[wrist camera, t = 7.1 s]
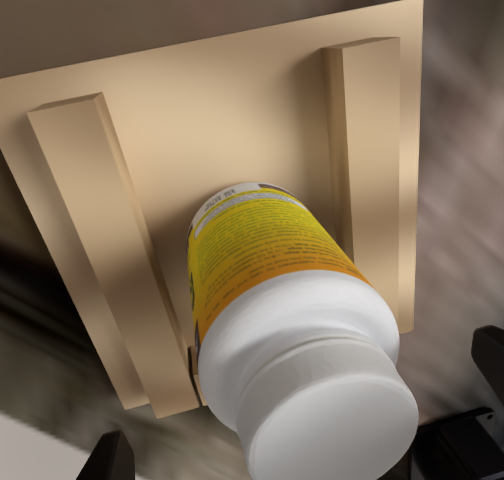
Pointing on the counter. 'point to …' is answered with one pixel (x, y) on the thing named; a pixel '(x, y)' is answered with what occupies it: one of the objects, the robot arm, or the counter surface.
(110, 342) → the stand
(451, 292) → the counter surface
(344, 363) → the supplement bottle
